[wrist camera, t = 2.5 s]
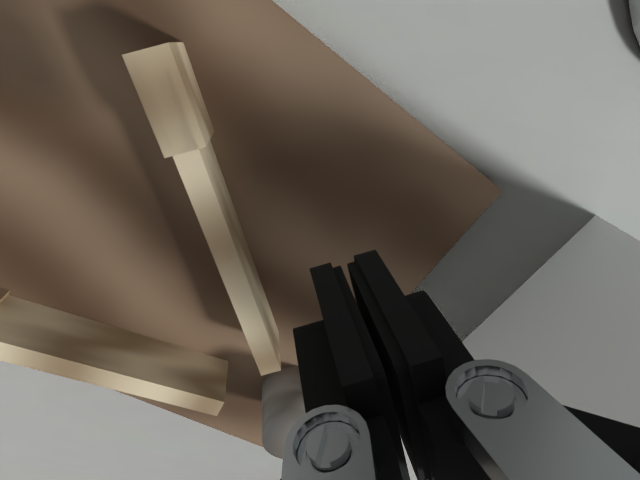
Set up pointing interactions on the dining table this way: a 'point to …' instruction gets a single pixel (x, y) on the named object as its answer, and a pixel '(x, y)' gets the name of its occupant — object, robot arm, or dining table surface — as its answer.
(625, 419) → the milk
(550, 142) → the dining table surface
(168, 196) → the board
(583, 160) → the dining table surface
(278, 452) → the beige long slender part
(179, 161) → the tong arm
